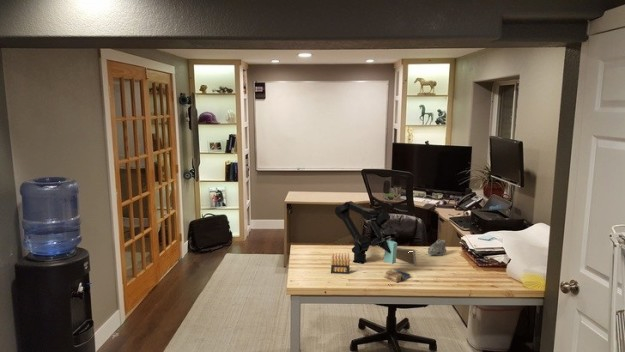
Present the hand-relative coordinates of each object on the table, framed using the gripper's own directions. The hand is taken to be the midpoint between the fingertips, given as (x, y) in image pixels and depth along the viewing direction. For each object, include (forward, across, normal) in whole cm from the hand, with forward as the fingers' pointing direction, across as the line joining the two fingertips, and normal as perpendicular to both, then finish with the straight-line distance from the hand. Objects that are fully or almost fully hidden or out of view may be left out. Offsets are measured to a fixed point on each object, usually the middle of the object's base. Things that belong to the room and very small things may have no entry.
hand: (392, 252), depth 243 cm
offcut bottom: (+13, -6, +4) cm, 15 cm away
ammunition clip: (-4, -21, +24) cm, 32 cm away
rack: (+14, -2, +5) cm, 15 cm away
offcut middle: (+12, -6, +4) cm, 14 cm away
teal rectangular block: (+3, 0, +5) cm, 6 cm away
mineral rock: (+7, +49, +12) cm, 51 cm away
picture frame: (-1, +27, +21) cm, 34 cm away
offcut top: (+12, -6, +2) cm, 13 cm away
